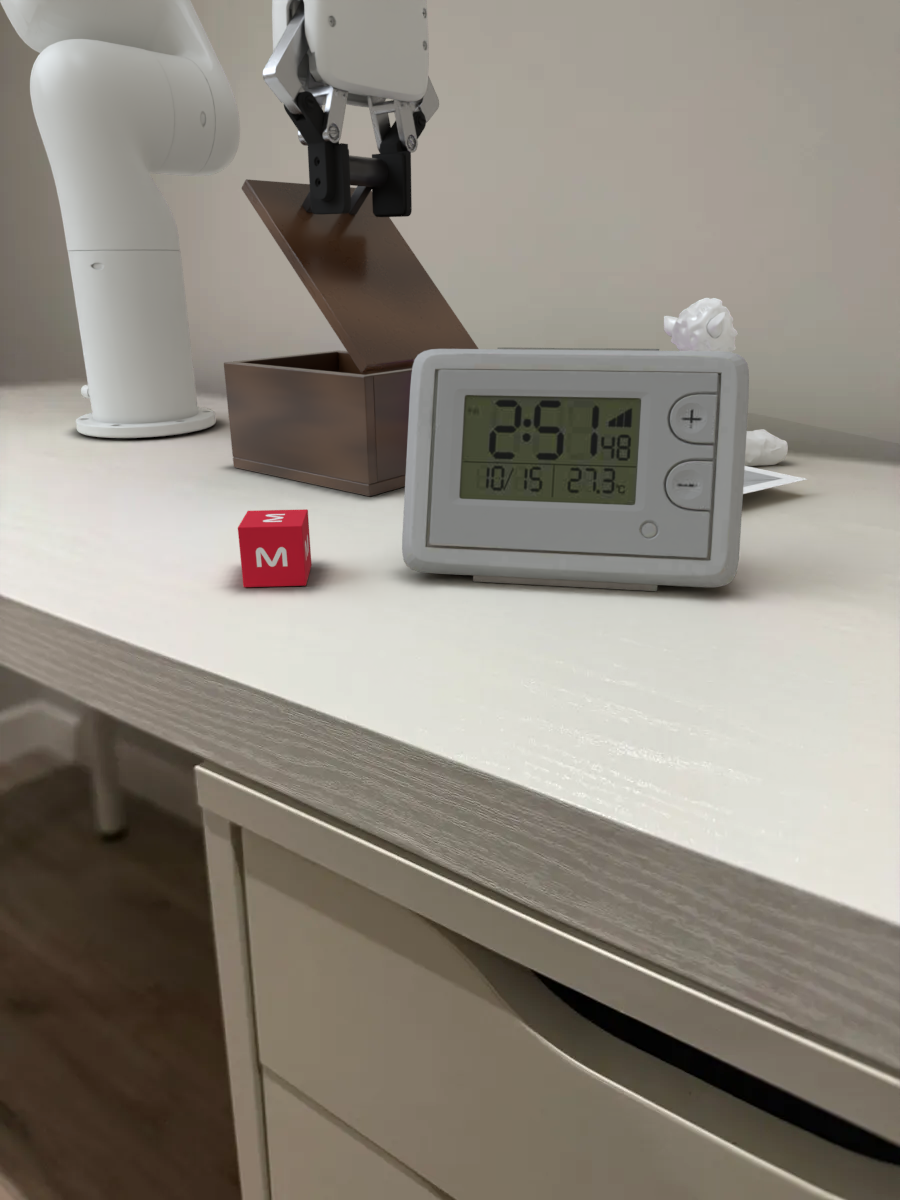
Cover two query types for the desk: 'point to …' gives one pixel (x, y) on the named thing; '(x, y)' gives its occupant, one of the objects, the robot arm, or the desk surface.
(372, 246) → the lid
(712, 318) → the seated beast figurine
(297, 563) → the red letter cube
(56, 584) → the desk surface
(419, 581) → the desk surface
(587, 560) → the digital clock
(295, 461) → the chest
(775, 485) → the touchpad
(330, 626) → the desk surface
